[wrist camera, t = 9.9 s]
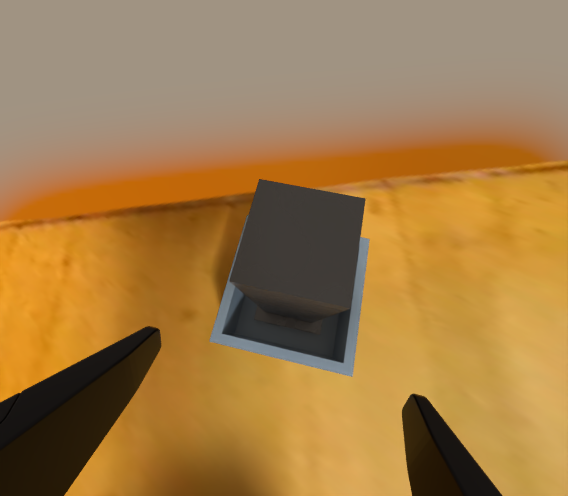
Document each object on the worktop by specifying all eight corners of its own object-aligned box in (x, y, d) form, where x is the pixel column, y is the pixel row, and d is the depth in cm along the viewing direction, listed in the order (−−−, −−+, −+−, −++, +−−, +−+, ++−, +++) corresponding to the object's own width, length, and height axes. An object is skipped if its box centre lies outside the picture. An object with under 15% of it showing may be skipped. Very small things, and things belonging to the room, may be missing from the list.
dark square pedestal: (318, 334, 19) (372, 340, 7) (255, 320, 20) (199, 299, 7) (329, 272, 21) (388, 184, 8) (270, 260, 21) (245, 158, 9)
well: (336, 365, 19) (352, 376, 15) (228, 339, 20) (209, 341, 15) (352, 259, 22) (369, 239, 17) (255, 239, 23) (247, 214, 18)
